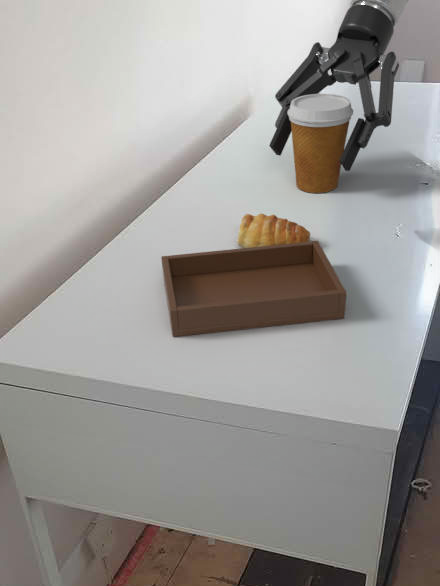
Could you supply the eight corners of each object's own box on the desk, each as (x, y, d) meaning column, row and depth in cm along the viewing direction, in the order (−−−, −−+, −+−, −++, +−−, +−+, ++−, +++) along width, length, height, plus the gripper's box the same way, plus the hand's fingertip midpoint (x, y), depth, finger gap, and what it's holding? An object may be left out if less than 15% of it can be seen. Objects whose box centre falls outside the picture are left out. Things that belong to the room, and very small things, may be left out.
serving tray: (316, 265, 91) (317, 240, 89) (344, 318, 81) (346, 292, 79) (163, 280, 90) (161, 256, 88) (172, 337, 80) (170, 310, 78)
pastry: (312, 237, 97) (314, 209, 95) (304, 259, 93) (305, 231, 90) (245, 232, 99) (244, 205, 97) (234, 254, 95) (233, 226, 92)
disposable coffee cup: (357, 192, 109) (364, 107, 101) (297, 201, 107) (300, 115, 99) (334, 171, 115) (339, 89, 107) (278, 179, 114) (279, 97, 106)
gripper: (453, 44, 102) (387, 186, 104) (312, 29, 114) (255, 156, 116) (442, 8, 96) (372, 160, 97) (294, -5, 108) (233, 131, 109)
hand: (308, 158), depth 107 cm, fingers open, 12 cm apart
